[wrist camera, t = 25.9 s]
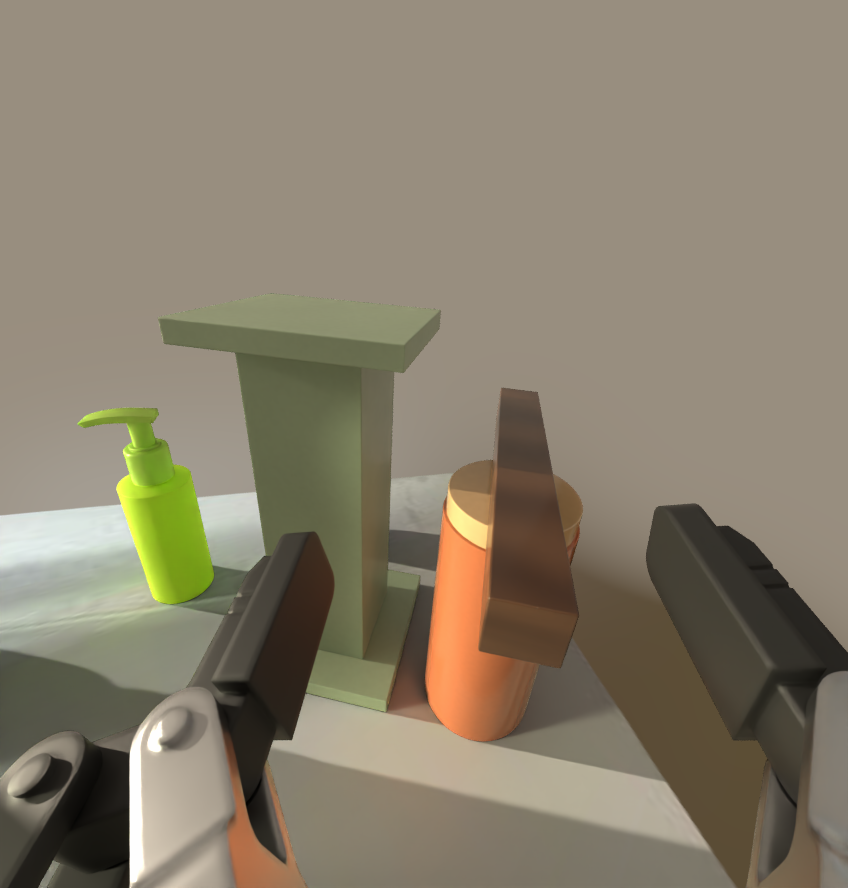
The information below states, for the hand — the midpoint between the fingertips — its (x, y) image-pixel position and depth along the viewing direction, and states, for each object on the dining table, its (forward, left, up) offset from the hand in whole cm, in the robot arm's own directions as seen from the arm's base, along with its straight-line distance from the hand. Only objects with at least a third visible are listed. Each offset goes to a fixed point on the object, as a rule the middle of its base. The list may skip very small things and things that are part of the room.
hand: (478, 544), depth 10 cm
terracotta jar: (-4, +15, -28) cm, 32 cm away
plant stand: (-18, +11, -28) cm, 35 cm away
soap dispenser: (-35, +4, -28) cm, 45 cm away
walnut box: (-4, +15, -8) cm, 17 cm away
